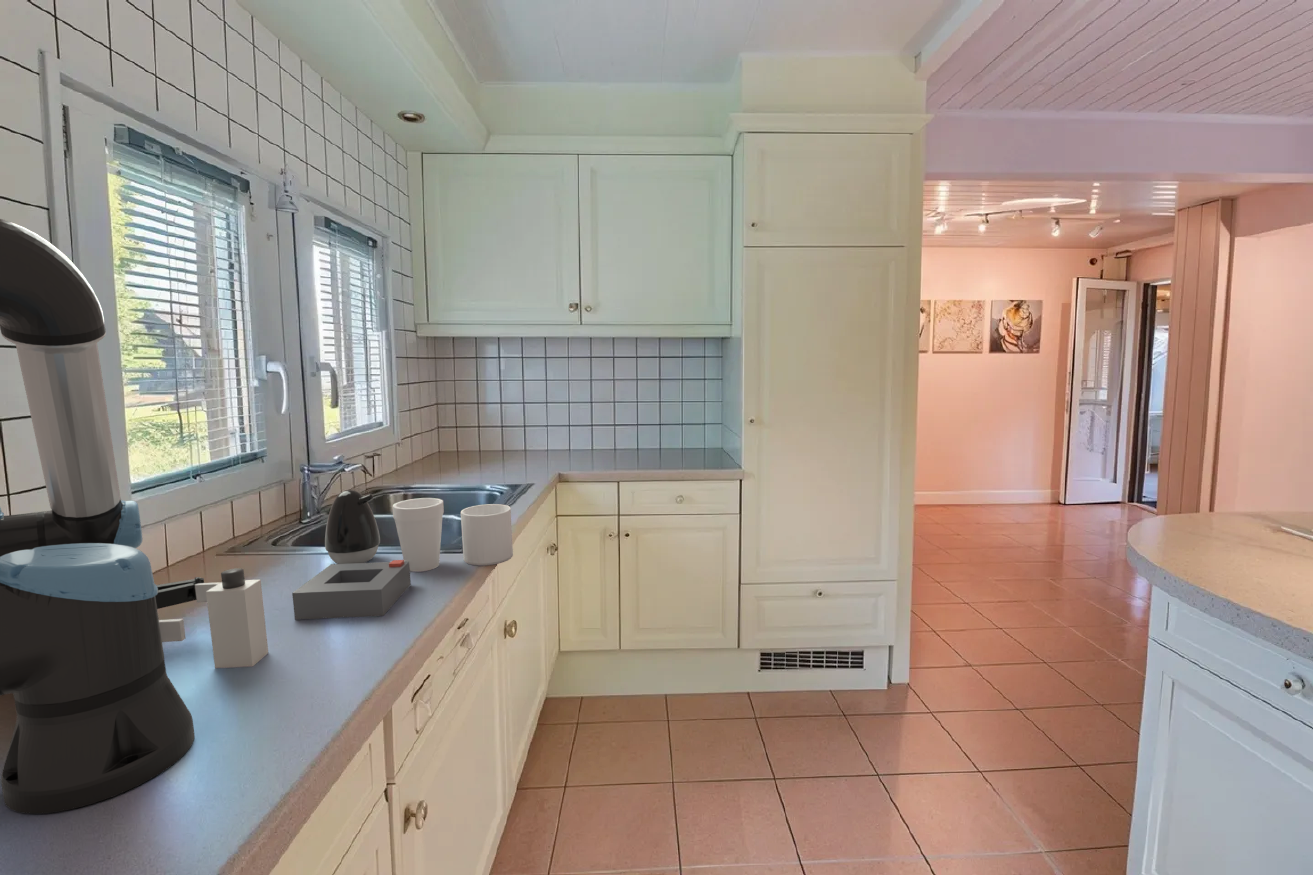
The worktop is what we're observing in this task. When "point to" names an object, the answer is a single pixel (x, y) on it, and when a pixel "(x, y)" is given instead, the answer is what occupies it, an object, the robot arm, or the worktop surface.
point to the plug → (237, 621)
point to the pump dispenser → (351, 529)
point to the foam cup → (419, 531)
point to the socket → (352, 590)
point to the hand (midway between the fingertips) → (215, 608)
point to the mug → (486, 534)
